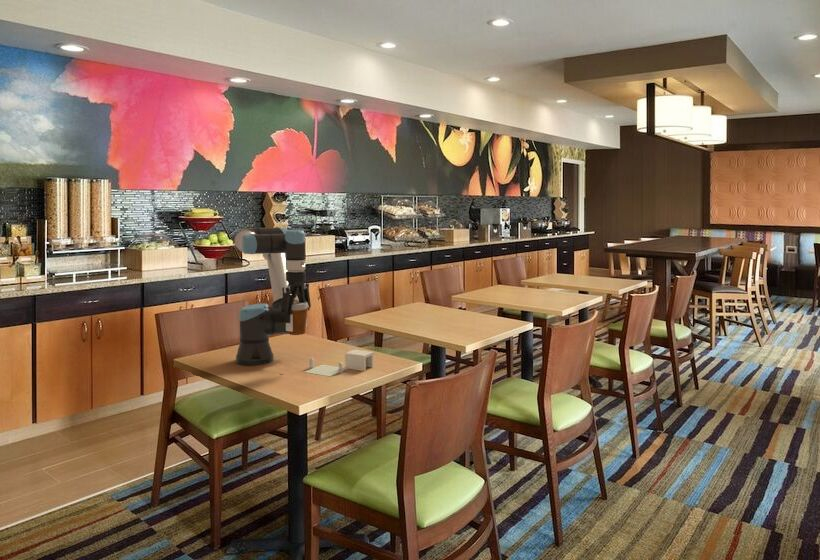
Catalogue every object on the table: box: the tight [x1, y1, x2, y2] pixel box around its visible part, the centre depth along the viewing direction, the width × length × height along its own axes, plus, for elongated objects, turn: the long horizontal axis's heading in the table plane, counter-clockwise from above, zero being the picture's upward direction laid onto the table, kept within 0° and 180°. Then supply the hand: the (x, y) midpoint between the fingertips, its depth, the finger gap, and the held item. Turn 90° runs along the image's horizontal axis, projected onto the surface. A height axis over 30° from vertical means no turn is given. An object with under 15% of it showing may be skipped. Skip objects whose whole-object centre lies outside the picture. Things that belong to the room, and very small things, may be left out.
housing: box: [344, 349, 374, 372], centre depth 246 cm, size 9×7×6 cm
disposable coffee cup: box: [288, 300, 309, 336], centre depth 244 cm, size 10×10×12 cm
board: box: [304, 357, 349, 377], centre depth 244 cm, size 21×19×5 cm
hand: (296, 328), depth 245 cm, fingers closed on disposable coffee cup, 8 cm apart
